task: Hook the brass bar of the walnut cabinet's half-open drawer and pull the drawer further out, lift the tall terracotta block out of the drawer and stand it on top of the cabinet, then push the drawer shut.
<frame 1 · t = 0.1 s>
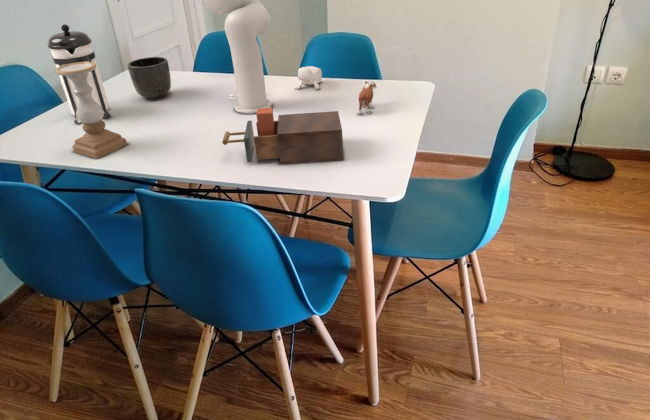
coffee press: (91, 115, 170), on the table
bull figurine: (367, 109, 162), on the table
drawer: (264, 139, 133), point 4 cm above the table, slide at 7.5 cm, touching block
candle holder: (101, 148, 145), on the table
white lamb toy: (309, 87, 184), on the table
cabinet: (311, 151, 136), on the table
planter: (155, 97, 183), on the table
block: (268, 147, 135), point 2 cm above the table, touching drawer
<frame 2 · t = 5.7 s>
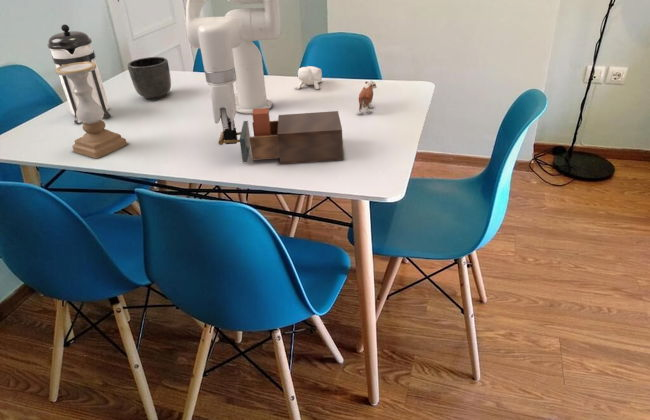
hand: (231, 142, 133), 4 cm above the table, tool pointing down, fingers closed
drawer: (260, 140, 133), point 4 cm above the table, slide at 8.6 cm, touching block, gripper
block: (264, 147, 135), point 2 cm above the table, touching drawer
everything else where it was.
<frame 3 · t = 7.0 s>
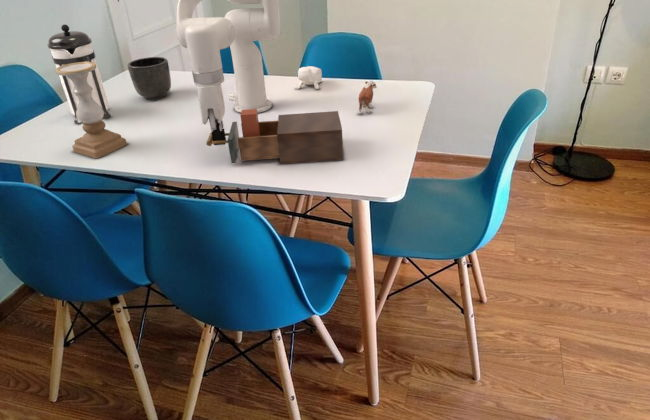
hand: (220, 143, 133), 4 cm above the table, tool pointing down, fingers closed
drawer: (249, 140, 133), point 4 cm above the table, slide at 11.7 cm, touching block, gripper
block: (253, 148, 135), point 2 cm above the table, touching drawer
everything else where it was.
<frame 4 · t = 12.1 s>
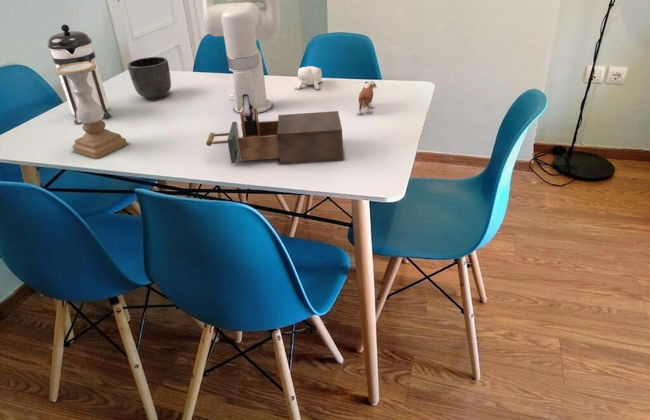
hand: (252, 130, 132), 7 cm above the table, tool pointing down, fingers closed on block, 4 cm apart
drawer: (249, 140, 133), point 4 cm above the table, slide at 11.7 cm, touching block
block: (253, 148, 135), point 2 cm above the table, touching drawer, gripper
everything else where it was.
when the fingers open (14 cm above the table, at t = 17.8 s): block stays where it is, resting on cabinet.
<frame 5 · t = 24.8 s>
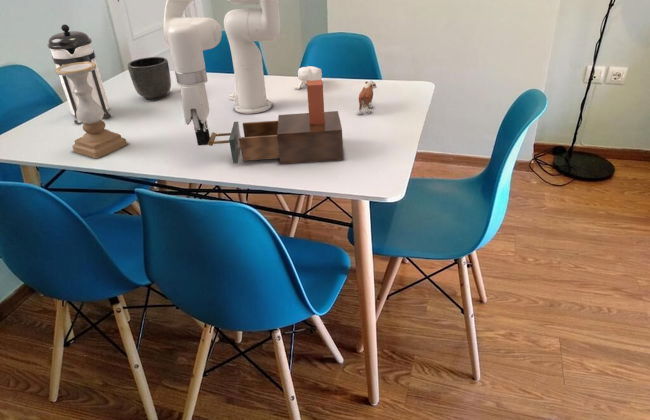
hand: (204, 143, 133), 4 cm above the table, tool pointing down, fingers closed
drawer: (250, 140, 133), point 4 cm above the table, slide at 11.3 cm
block: (316, 121, 132), point 9 cm above the table, touching cabinet
everything else where it was.
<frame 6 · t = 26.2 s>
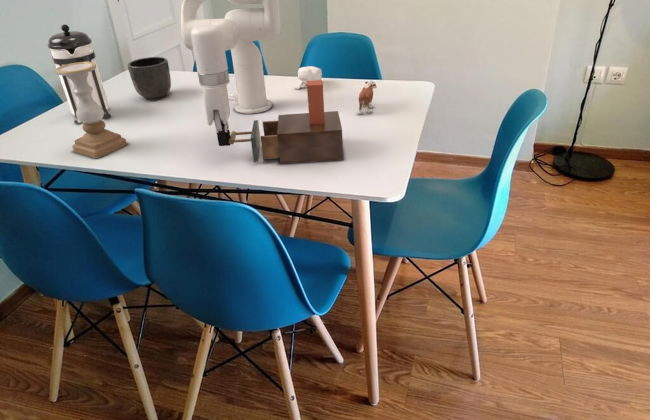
hand: (225, 144, 133), 4 cm above the table, tool pointing down, fingers closed
drawer: (270, 139, 134), point 4 cm above the table, slide at 5.7 cm, touching gripper
everything else where it was.
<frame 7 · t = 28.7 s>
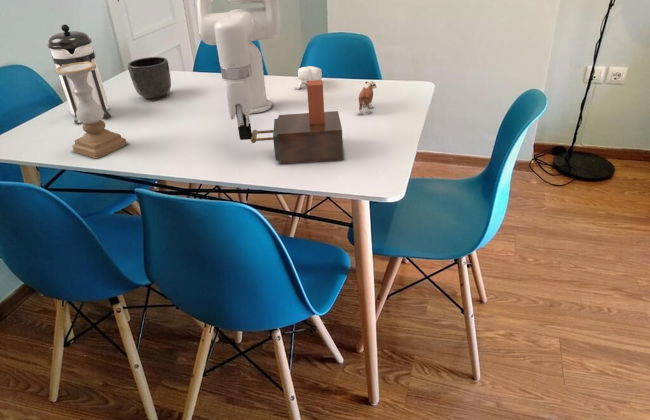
hand: (246, 138, 134), 5 cm above the table, tool pointing down, fingers closed
drawer: (292, 138, 134), point 4 cm above the table, slide at 0.0 cm, touching cabinet, gripper
everything else where it was.
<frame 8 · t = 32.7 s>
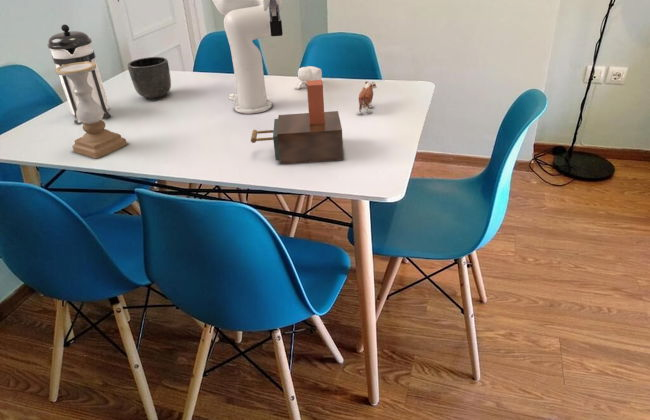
hand: (276, 35, 139), 27 cm above the table, tool pointing down, fingers closed
drawer: (292, 138, 134), point 4 cm above the table, slide at 0.0 cm, touching cabinet
everything else where it was.
at the end: block inside the target area on the cabinet (0.5 cm from its centre), point 8.6 cm above the cabinet's base; drawer slide at 0.0 cm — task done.
